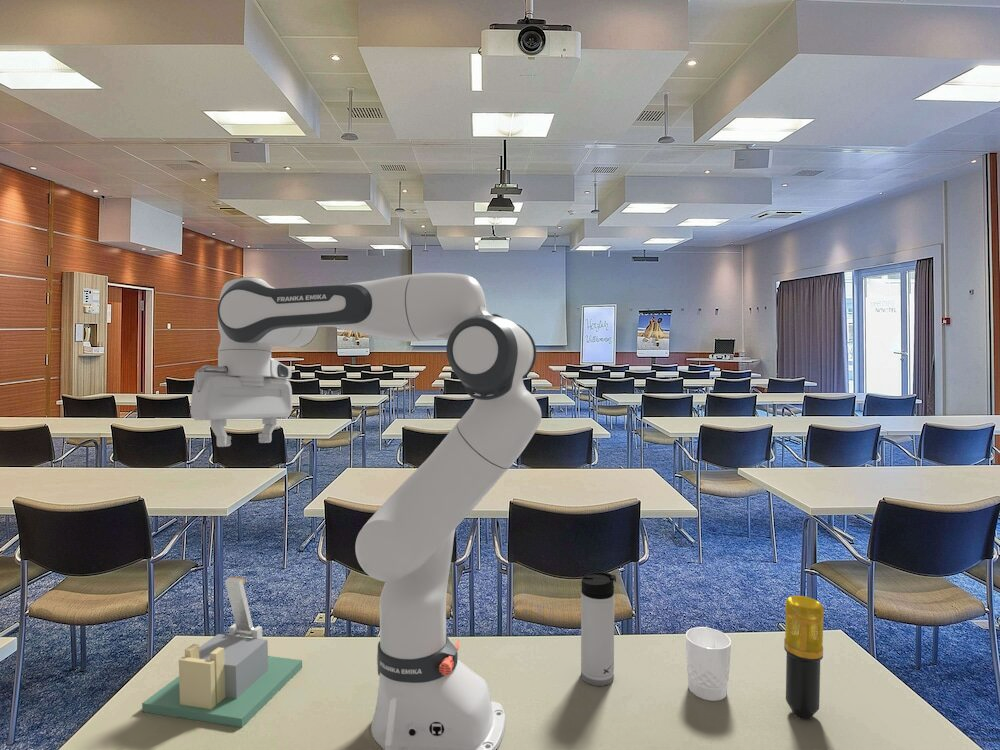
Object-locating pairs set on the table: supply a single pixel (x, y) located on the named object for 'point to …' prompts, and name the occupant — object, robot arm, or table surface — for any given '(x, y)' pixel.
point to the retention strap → (239, 606)
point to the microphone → (803, 654)
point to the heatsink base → (224, 680)
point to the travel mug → (597, 628)
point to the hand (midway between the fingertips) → (245, 444)
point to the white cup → (708, 662)
